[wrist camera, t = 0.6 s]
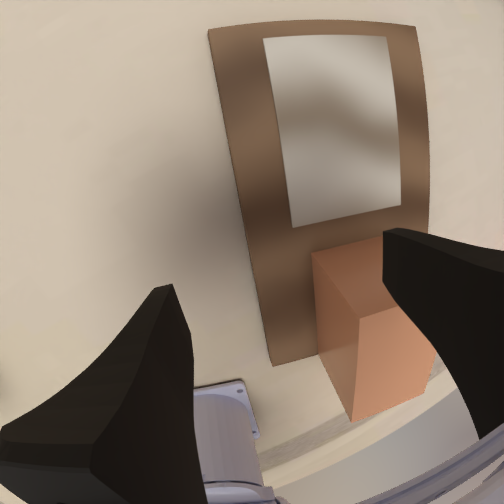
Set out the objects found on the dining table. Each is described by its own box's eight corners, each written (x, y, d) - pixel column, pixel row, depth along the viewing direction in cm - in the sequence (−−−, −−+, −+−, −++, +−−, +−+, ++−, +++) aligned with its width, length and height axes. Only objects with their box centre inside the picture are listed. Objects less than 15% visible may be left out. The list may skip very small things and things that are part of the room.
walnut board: (411, 314, 26) (418, 321, 25) (269, 358, 25) (272, 368, 24) (406, 28, 15) (416, 26, 14) (207, 33, 14) (208, 28, 13)
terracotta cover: (381, 333, 24) (423, 393, 18) (318, 354, 24) (351, 423, 18) (387, 234, 20) (451, 286, 14) (310, 252, 20) (359, 318, 14)
